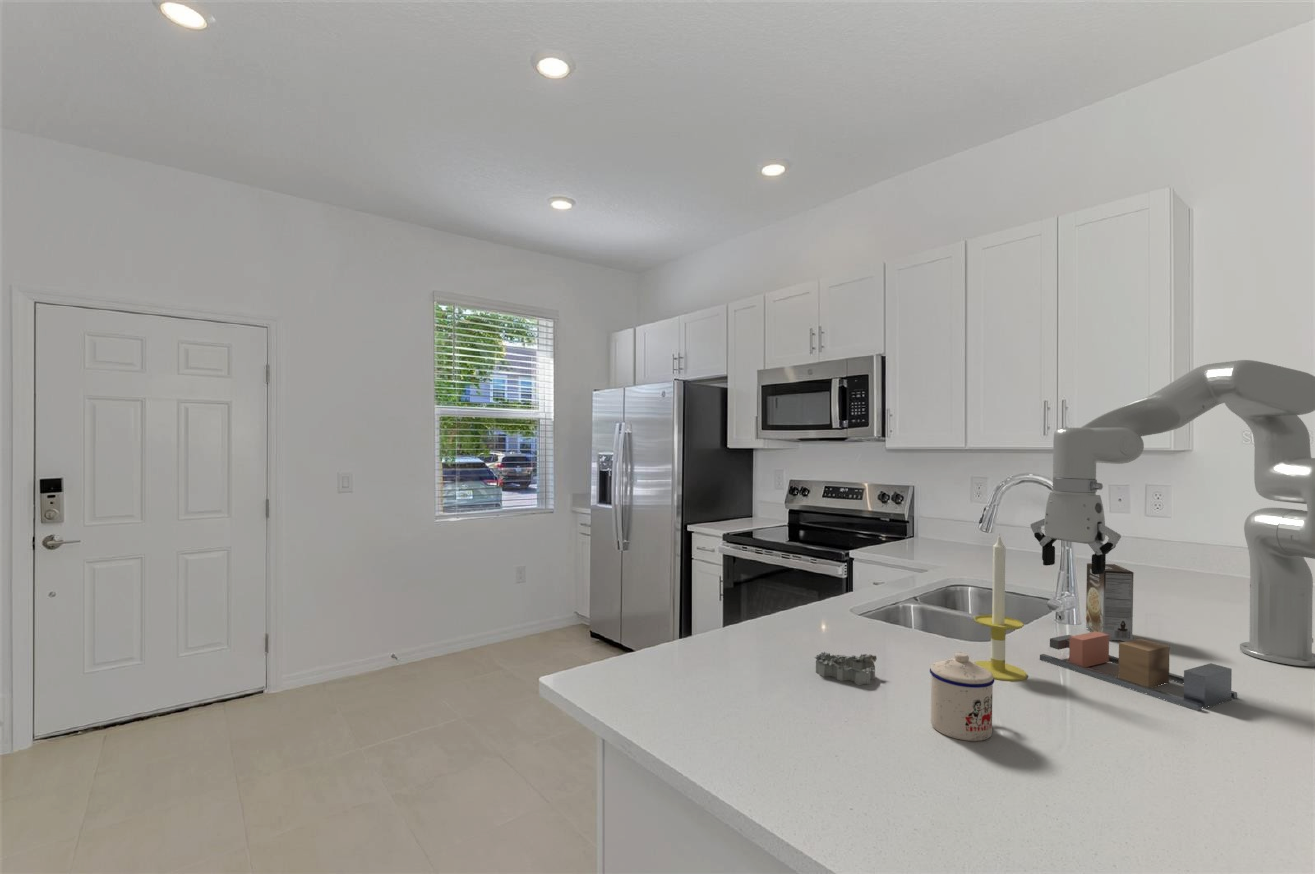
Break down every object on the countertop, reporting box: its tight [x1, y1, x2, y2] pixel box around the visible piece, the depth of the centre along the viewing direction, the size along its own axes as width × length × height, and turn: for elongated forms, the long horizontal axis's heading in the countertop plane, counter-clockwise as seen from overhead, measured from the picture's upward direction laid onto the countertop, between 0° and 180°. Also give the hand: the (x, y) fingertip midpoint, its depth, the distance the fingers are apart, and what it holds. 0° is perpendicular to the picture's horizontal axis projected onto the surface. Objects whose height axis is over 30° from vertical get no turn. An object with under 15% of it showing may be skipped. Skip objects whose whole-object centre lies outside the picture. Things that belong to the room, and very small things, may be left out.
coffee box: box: [1085, 562, 1135, 642], centre depth 148 cm, size 9×6×16 cm
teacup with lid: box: [929, 652, 995, 742], centre depth 99 cm, size 12×9×12 cm
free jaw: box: [1049, 631, 1110, 668], centre depth 131 cm, size 9×7×6 cm
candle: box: [973, 533, 1028, 682], centre depth 124 cm, size 10×10×27 cm
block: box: [1118, 638, 1171, 688], centre depth 120 cm, size 7×5×7 cm
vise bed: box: [1039, 653, 1238, 712], centre depth 122 cm, size 13×27×6 cm, turn 26°
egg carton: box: [814, 651, 877, 686], centre depth 121 cm, size 11×8×4 cm
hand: (1072, 569), depth 132 cm, fingers open, 9 cm apart
